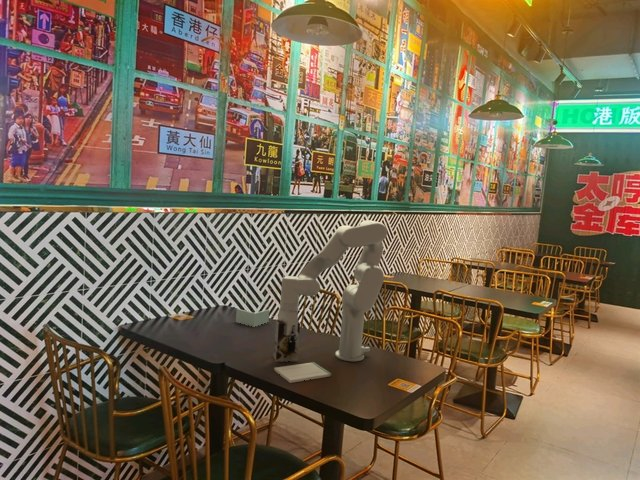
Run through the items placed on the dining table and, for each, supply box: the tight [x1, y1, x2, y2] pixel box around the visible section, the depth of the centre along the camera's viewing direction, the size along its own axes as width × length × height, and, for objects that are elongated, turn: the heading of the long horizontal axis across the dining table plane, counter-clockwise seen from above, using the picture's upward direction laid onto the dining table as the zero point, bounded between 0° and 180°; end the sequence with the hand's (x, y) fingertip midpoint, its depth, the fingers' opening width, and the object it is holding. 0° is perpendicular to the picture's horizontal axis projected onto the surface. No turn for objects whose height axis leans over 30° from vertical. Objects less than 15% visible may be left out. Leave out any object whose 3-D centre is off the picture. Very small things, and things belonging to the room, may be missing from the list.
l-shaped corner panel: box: [235, 308, 270, 328], centre depth 247 cm, size 12×12×8 cm
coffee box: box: [272, 319, 301, 363], centre depth 196 cm, size 9×6×16 cm
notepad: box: [273, 361, 332, 384], centre depth 183 cm, size 18×13×1 cm
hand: (286, 347), depth 197 cm, fingers open, 7 cm apart
